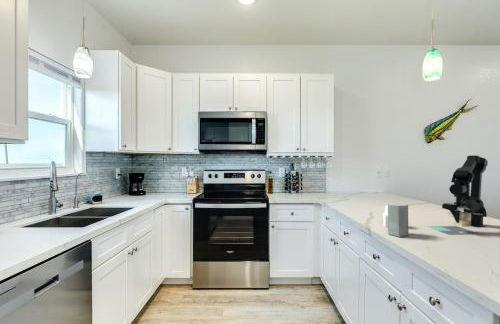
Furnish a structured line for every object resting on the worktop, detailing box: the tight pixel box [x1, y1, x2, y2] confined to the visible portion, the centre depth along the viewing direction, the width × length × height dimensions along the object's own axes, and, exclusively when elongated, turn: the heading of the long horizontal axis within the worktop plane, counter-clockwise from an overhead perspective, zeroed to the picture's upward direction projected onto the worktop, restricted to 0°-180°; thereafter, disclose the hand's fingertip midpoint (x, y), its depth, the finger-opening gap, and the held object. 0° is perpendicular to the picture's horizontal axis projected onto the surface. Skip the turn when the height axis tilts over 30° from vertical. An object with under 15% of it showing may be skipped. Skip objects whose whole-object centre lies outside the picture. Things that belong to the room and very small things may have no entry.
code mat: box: [428, 225, 481, 236], centre depth 146 cm, size 18×16×1 cm
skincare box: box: [387, 203, 409, 238], centre depth 138 cm, size 8×7×16 cm
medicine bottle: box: [382, 205, 388, 229], centre depth 155 cm, size 7×7×12 cm
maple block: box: [453, 210, 472, 228], centre depth 143 cm, size 5×5×7 cm
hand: (462, 222), depth 143 cm, fingers closed on maple block, 5 cm apart
